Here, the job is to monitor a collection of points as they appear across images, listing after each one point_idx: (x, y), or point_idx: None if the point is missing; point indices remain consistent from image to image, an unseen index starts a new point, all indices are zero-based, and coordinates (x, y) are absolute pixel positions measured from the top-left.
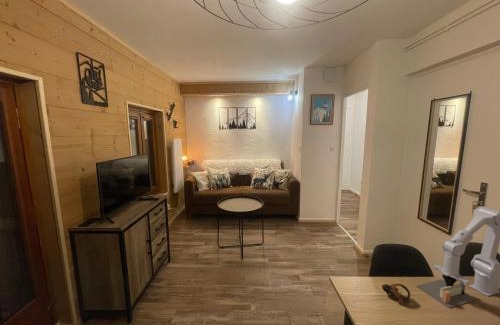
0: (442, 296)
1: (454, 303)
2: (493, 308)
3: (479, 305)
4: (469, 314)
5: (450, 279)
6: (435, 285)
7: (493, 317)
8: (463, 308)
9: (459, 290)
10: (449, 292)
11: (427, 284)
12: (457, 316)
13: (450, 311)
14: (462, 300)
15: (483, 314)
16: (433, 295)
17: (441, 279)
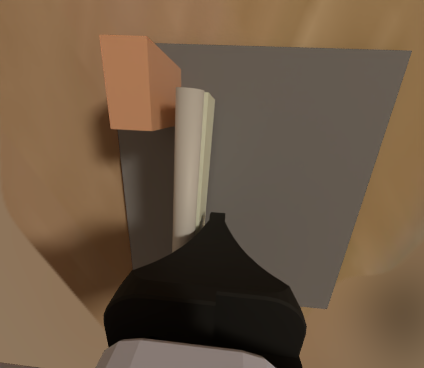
0: (166, 57)
1: (134, 134)
2: (76, 288)
3: (102, 256)
4: (46, 123)
5: (120, 299)
6: (313, 215)
7: (21, 223)
8: (95, 148)
9: None
10: (113, 111)
11: (355, 171)
12: (31, 7)
13: (82, 11)
14: (145, 215)
15: (42, 202)
16: (250, 69)
17: (325, 307)
